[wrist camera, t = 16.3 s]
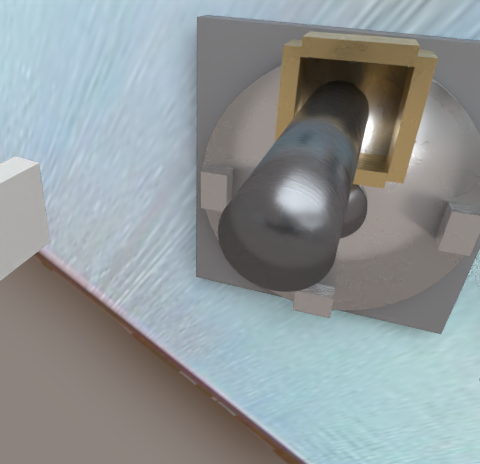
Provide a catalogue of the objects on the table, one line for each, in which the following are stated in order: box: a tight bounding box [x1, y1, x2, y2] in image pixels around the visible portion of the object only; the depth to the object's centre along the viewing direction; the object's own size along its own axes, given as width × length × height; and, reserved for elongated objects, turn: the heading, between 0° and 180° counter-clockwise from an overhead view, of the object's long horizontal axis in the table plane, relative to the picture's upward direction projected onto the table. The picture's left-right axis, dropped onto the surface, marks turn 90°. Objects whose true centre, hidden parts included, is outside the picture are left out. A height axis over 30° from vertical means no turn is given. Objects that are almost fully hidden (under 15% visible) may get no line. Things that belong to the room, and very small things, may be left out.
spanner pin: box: [218, 80, 369, 292], centre depth 20 cm, size 4×4×16 cm
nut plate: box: [196, 15, 480, 334], centre depth 32 cm, size 22×22×2 cm
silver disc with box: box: [201, 31, 480, 318], centre depth 29 cm, size 21×20×4 cm
